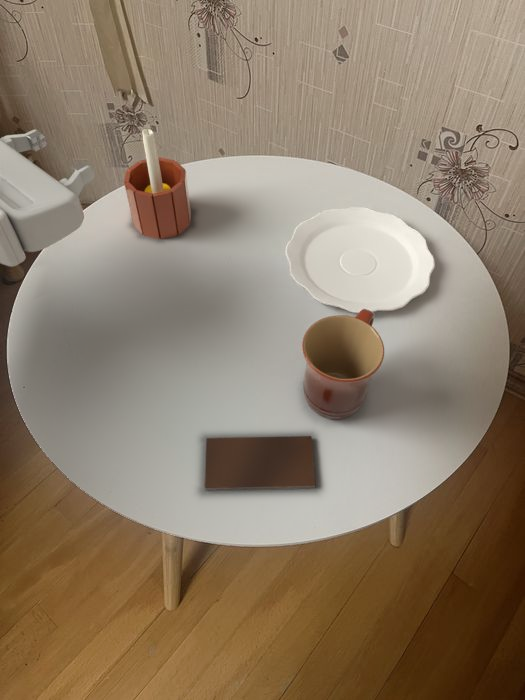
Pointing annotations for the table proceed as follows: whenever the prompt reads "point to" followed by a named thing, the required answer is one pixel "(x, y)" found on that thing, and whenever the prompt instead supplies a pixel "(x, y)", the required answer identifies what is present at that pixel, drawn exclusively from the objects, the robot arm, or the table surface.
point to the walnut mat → (259, 463)
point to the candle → (153, 163)
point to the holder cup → (158, 200)
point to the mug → (340, 363)
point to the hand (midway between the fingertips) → (65, 152)
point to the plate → (360, 259)
